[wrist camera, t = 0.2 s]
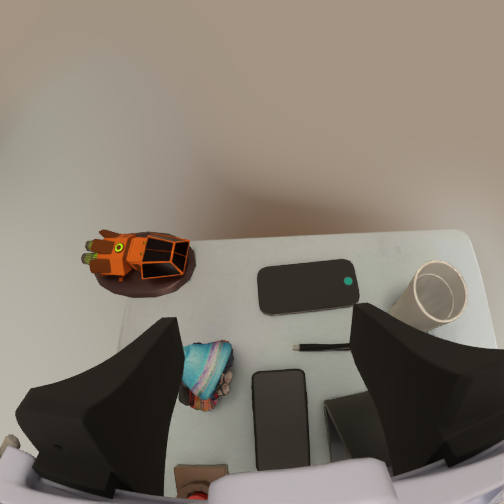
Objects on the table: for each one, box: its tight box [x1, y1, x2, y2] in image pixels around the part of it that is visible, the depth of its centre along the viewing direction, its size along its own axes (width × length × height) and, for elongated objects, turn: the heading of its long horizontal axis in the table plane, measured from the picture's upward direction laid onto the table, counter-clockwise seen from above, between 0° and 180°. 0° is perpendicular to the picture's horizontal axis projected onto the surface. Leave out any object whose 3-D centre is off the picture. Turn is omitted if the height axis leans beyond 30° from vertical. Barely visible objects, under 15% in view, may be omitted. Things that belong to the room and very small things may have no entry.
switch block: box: [174, 465, 228, 499], centre depth 30 cm, size 10×7×4 cm
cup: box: [389, 260, 467, 332], centre depth 36 cm, size 8×8×12 cm
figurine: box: [179, 340, 234, 412], centre depth 34 cm, size 10×7×15 cm
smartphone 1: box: [257, 259, 359, 315], centre depth 45 cm, size 8×1×15 cm
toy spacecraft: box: [81, 230, 196, 298], centre depth 47 cm, size 12×20×6 cm, turn 86°
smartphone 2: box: [251, 369, 310, 471], centre depth 36 cm, size 7×1×15 cm
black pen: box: [293, 343, 351, 351], centre depth 40 cm, size 12×1×1 cm, turn 87°
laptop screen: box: [325, 391, 393, 473], centre depth 27 cm, size 17×22×1 cm
